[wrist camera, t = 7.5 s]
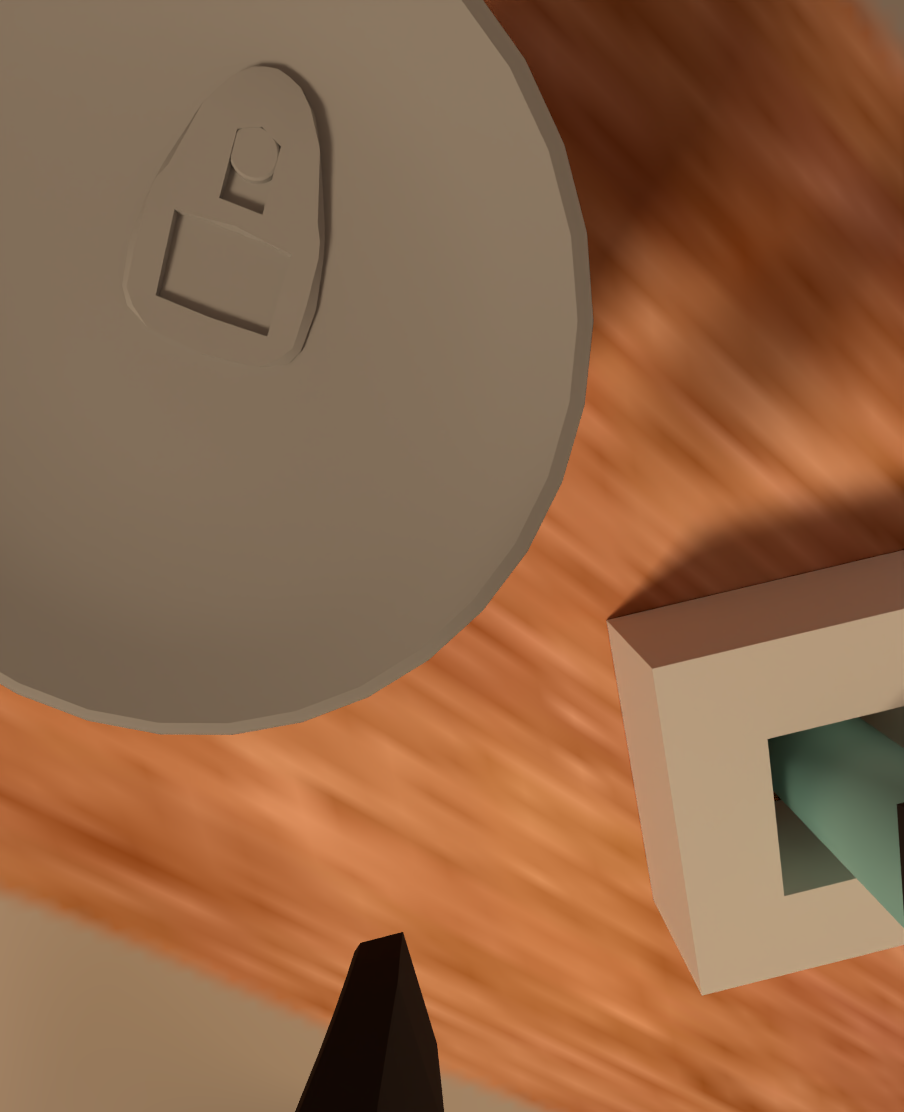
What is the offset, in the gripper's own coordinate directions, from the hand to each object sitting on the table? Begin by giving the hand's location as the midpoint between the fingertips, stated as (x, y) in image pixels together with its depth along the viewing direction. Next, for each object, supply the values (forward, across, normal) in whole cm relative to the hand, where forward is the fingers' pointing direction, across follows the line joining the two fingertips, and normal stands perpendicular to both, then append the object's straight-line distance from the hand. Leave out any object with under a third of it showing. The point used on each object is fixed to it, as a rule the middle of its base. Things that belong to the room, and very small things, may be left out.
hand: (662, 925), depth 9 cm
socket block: (+10, -8, +5) cm, 13 cm away
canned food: (+10, +3, -8) cm, 14 cm away
